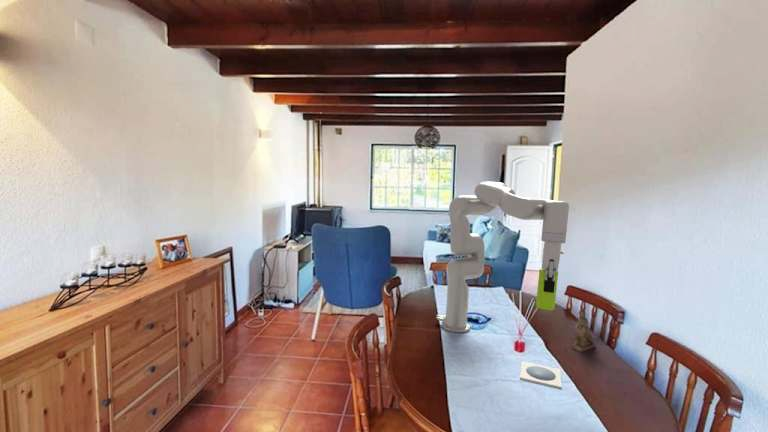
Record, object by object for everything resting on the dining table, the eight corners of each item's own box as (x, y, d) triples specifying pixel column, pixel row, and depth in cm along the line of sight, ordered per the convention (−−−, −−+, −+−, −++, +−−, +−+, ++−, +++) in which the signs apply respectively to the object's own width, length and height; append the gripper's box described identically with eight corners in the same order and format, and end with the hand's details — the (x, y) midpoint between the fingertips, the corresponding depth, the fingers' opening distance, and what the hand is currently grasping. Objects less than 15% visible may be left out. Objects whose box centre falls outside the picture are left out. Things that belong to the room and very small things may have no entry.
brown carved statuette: (580, 358, 154) (580, 317, 150) (568, 352, 159) (567, 312, 155) (597, 346, 160) (597, 307, 156) (585, 341, 165) (584, 302, 161)
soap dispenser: (559, 311, 128) (565, 252, 126) (537, 309, 129) (543, 250, 127) (555, 306, 134) (561, 249, 132) (534, 303, 135) (540, 247, 133)
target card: (519, 379, 130) (519, 377, 130) (521, 362, 142) (522, 360, 142) (561, 388, 125) (561, 386, 125) (560, 370, 137) (560, 369, 137)
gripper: (541, 233, 138) (537, 281, 140) (541, 239, 122) (536, 294, 124) (564, 235, 135) (559, 285, 137) (567, 242, 119) (561, 298, 121)
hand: (548, 288), depth 131 cm, fingers closed on soap dispenser, 5 cm apart
